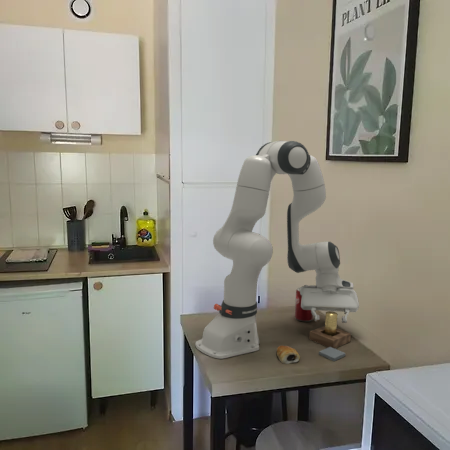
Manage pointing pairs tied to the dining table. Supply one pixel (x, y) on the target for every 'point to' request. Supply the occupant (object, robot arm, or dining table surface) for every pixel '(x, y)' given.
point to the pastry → (287, 354)
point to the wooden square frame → (330, 341)
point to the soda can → (299, 312)
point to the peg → (330, 323)
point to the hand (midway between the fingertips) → (330, 321)
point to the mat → (332, 353)
